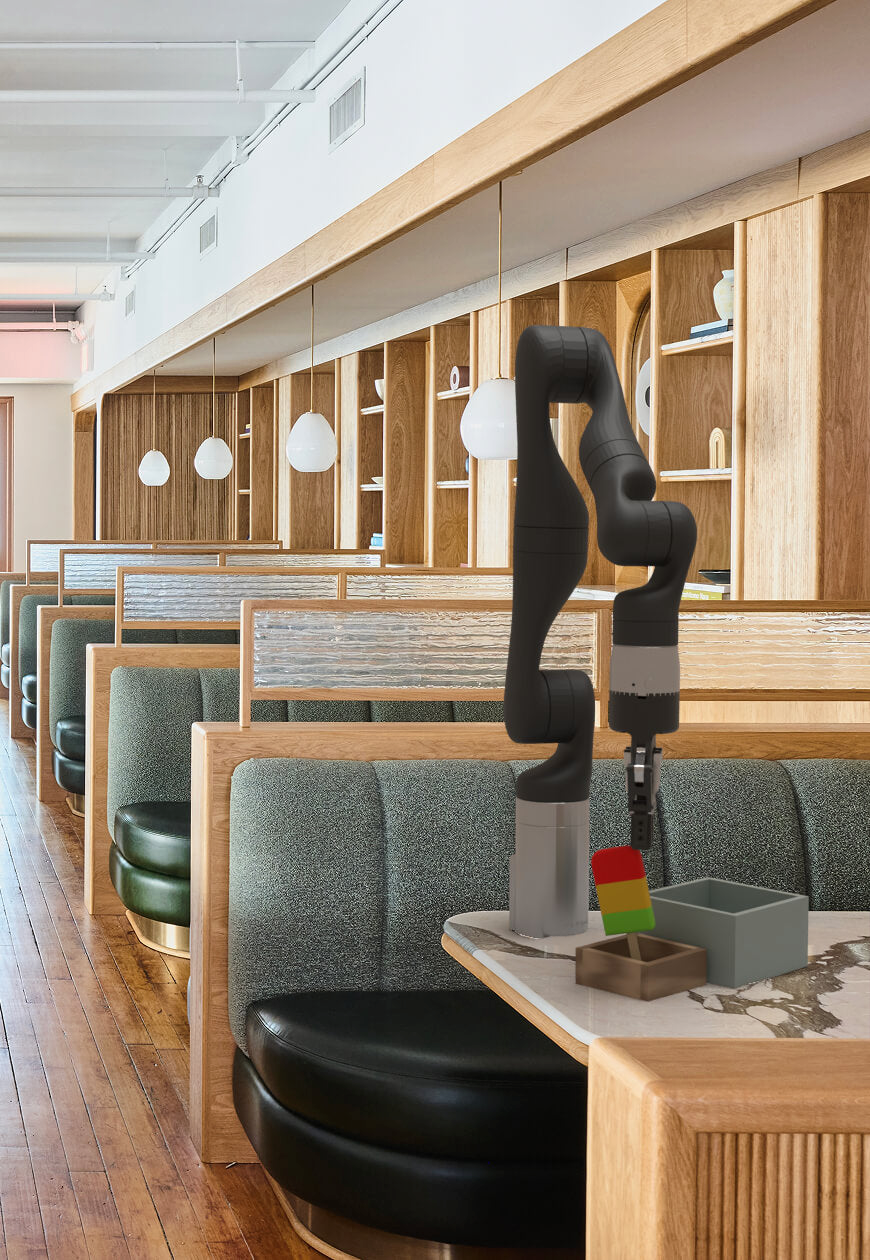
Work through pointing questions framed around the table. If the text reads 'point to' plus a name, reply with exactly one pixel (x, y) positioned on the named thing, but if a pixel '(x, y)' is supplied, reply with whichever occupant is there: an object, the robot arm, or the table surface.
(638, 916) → the popsicle
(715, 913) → the bin
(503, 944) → the table surface
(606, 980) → the collar
